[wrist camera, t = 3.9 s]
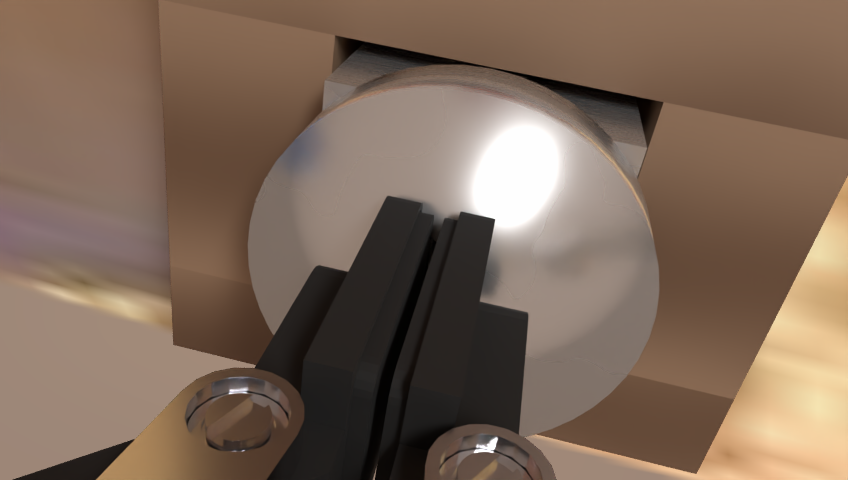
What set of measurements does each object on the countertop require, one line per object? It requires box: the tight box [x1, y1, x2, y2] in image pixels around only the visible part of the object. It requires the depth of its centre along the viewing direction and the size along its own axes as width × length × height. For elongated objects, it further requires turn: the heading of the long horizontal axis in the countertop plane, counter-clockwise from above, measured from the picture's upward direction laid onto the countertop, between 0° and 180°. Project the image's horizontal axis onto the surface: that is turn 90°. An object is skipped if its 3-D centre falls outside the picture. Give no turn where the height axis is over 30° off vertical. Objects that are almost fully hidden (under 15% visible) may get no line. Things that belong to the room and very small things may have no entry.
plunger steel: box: [248, 41, 659, 437], centre depth 14 cm, size 6×6×7 cm
